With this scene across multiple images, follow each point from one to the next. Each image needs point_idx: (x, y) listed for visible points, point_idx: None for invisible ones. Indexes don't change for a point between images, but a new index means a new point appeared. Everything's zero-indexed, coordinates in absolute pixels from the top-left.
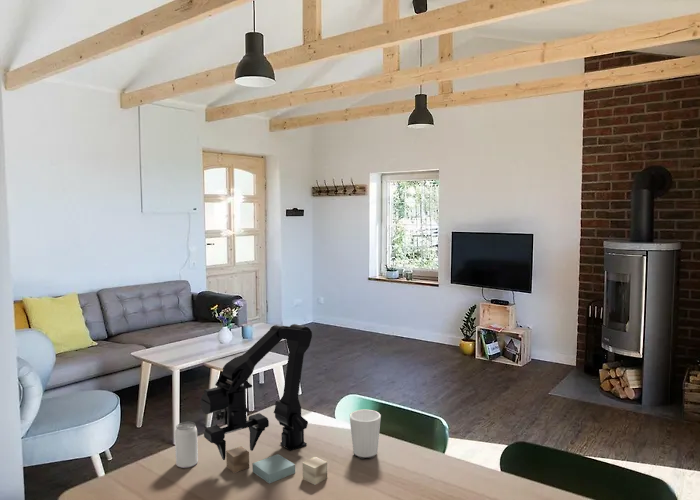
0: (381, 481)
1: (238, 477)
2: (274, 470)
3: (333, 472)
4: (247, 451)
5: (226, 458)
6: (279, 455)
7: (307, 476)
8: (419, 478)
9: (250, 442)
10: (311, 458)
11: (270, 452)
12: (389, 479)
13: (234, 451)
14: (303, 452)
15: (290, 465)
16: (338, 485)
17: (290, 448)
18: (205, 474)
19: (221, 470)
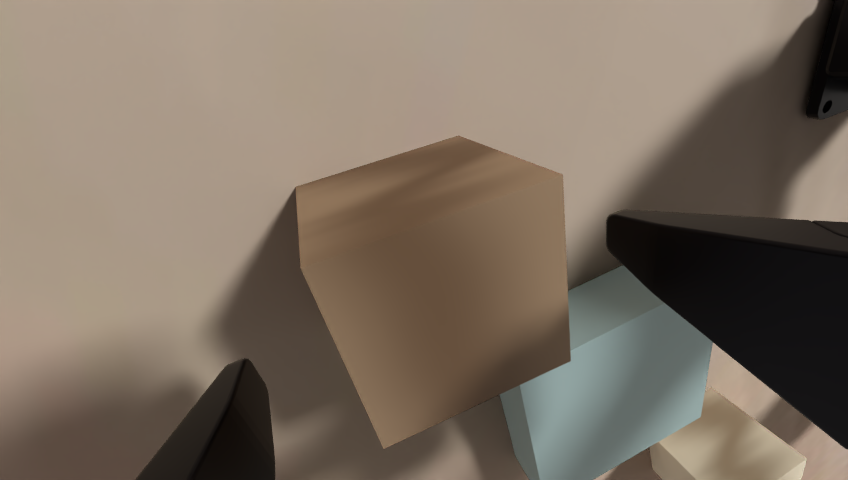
0: None
1: None
2: (590, 468)
3: (751, 394)
4: (564, 346)
5: (299, 222)
6: None
7: (670, 468)
8: None
9: (702, 258)
10: (784, 474)
11: (712, 64)
12: (805, 445)
13: (427, 314)
14: (822, 171)
15: (679, 424)
16: None
17: (826, 98)
18: (28, 288)
19: (234, 250)
